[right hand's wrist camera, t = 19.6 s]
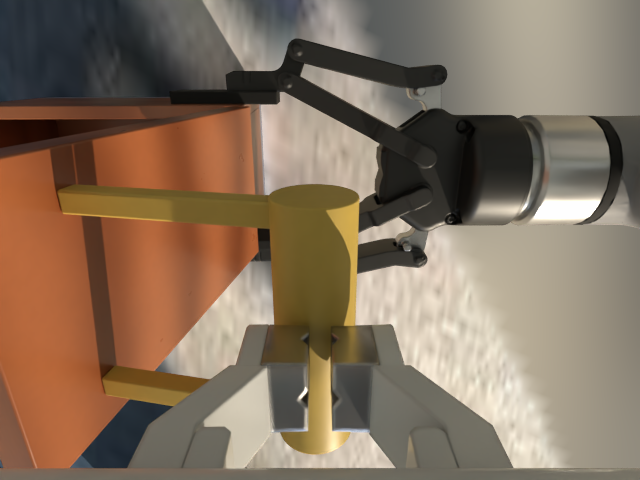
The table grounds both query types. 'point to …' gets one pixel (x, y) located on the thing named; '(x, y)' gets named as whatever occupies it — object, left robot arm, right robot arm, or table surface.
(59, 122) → the chest
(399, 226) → the table surface
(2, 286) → the wooden door with handle
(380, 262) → the left robot arm
